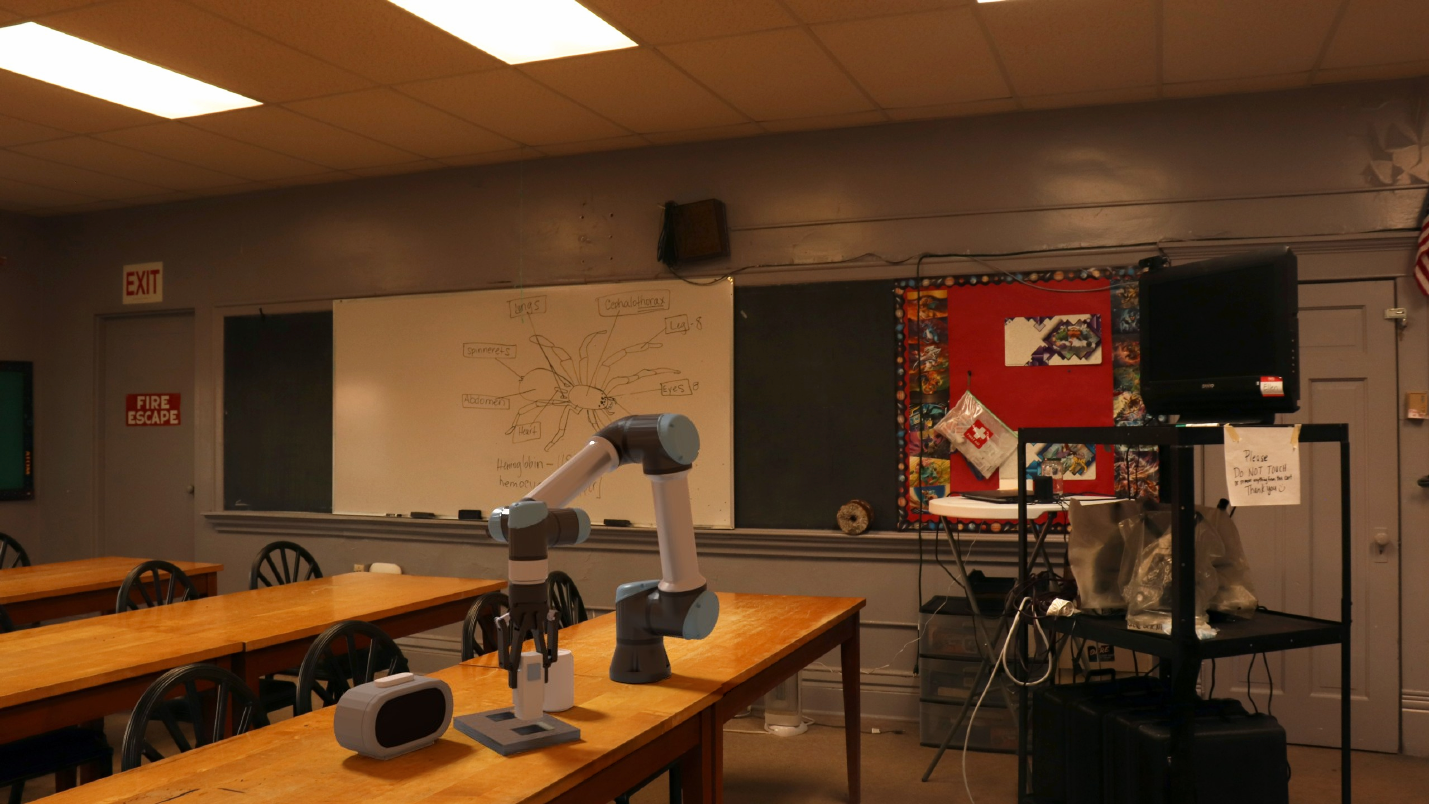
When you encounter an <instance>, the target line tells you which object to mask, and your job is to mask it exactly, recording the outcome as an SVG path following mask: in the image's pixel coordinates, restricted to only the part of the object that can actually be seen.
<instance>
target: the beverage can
mask: <svg viewBox="0 0 1429 804" xmlns="http://www.w3.org/2000/svg"><path fill="white" fill-rule="evenodd" d="M574 662H575V659H574V655H573V654H572V651H571V650H569V649H565V648H558V660H557V662H555V663H554V662H553V663H552V664H551V667H549V668H548V683H545V702H543V712H545V713H546V712H547V713H558V712H563V711H567V710H569V709H570V708H572V707H574V706H575V668H574V667H575V663H574Z"/></svg>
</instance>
